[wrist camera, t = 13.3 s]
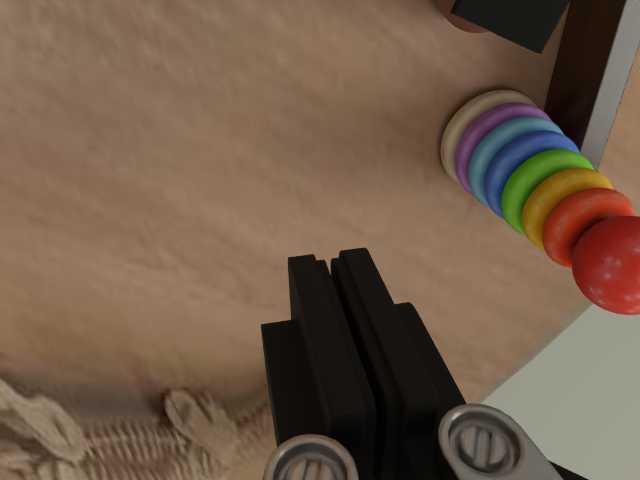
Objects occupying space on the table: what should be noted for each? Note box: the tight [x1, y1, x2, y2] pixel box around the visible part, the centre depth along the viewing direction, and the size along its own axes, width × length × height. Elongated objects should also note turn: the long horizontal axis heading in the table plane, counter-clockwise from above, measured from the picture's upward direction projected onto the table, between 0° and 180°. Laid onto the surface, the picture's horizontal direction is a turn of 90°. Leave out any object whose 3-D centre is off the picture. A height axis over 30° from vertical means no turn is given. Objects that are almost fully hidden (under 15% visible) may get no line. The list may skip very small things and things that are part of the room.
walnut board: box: [544, 0, 640, 171], centre depth 34 cm, size 2×26×5 cm, turn 0°
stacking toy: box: [441, 90, 640, 315], centre depth 31 cm, size 8×8×19 cm
